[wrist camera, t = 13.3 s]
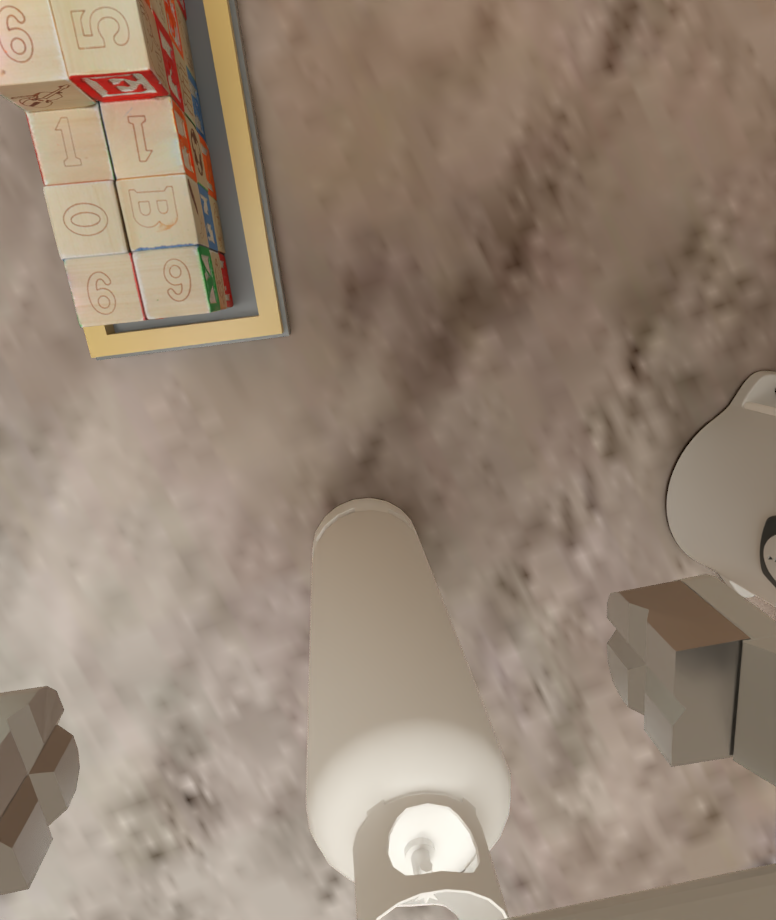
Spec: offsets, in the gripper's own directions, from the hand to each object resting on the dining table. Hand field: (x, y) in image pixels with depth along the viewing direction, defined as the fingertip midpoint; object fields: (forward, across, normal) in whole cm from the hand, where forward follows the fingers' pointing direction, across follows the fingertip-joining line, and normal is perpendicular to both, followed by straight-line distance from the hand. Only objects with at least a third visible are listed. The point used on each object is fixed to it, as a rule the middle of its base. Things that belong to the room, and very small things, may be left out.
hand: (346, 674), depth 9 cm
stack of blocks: (+31, +8, -15) cm, 36 cm away
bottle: (+33, -1, +14) cm, 36 cm away
